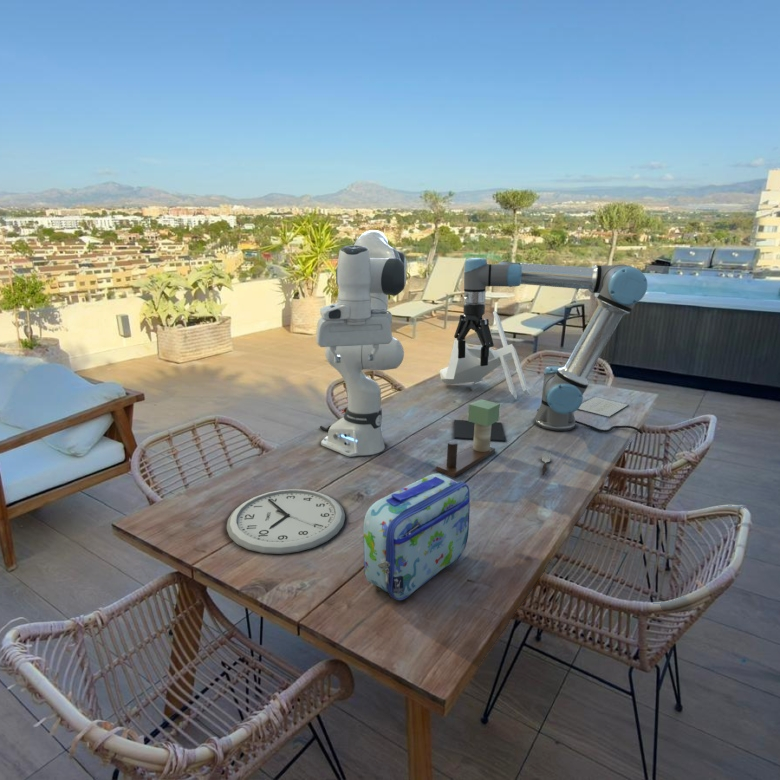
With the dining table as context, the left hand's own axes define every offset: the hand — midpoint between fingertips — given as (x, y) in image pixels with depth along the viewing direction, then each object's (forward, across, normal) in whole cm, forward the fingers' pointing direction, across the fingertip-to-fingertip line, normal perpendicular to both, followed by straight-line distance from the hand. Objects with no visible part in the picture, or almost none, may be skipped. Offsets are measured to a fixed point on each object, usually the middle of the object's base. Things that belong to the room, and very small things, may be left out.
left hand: (354, 361), depth 141 cm
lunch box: (+38, -4, +42) cm, 57 cm away
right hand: (+12, -52, -34) cm, 64 cm away
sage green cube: (+27, -47, -13) cm, 56 cm away
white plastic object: (+38, -77, -75) cm, 114 cm away
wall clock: (+38, +21, +12) cm, 45 cm away
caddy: (+38, -40, -8) cm, 55 cm away
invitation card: (+38, -120, -43) cm, 133 cm away
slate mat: (+38, -55, -32) cm, 74 cm away
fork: (+38, -62, +2) cm, 73 cm away
